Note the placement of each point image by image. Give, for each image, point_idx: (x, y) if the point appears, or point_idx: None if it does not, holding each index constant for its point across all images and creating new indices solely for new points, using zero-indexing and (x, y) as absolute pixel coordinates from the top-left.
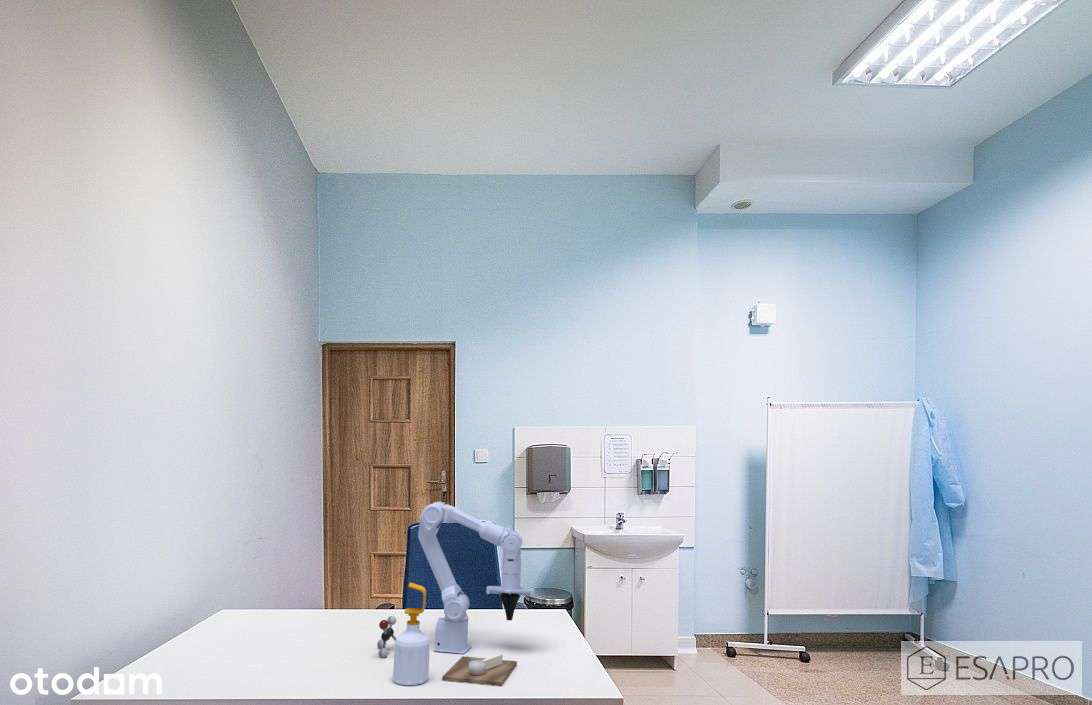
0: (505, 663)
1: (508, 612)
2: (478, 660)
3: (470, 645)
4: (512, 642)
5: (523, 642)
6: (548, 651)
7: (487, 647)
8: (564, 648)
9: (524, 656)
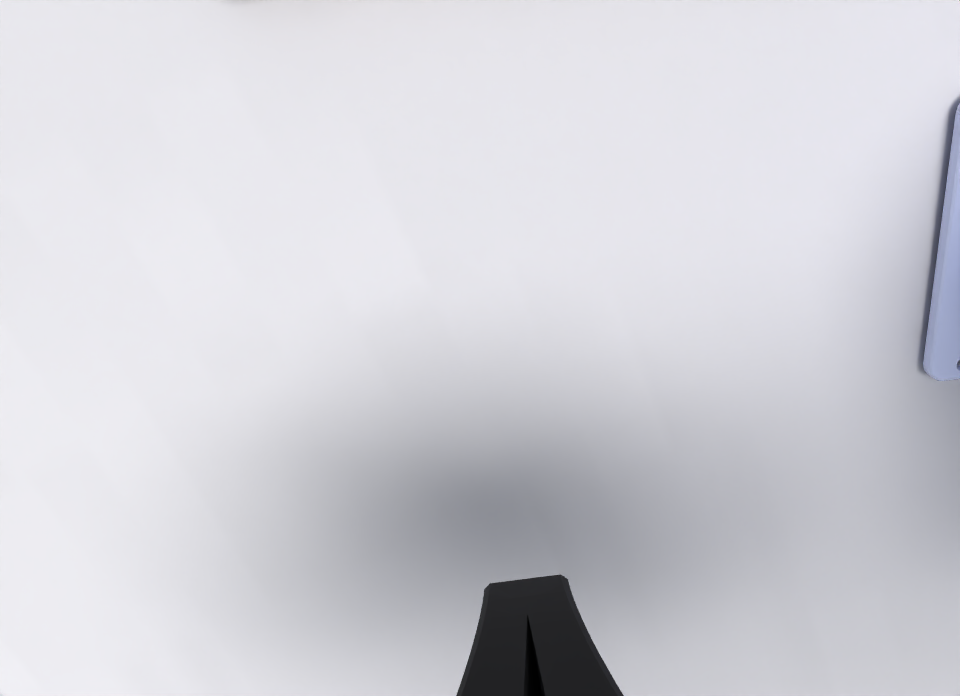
0: None
1: (542, 685)
2: None
3: (937, 358)
4: None
5: None
6: (180, 532)
7: (754, 421)
8: (108, 643)
9: (302, 315)
